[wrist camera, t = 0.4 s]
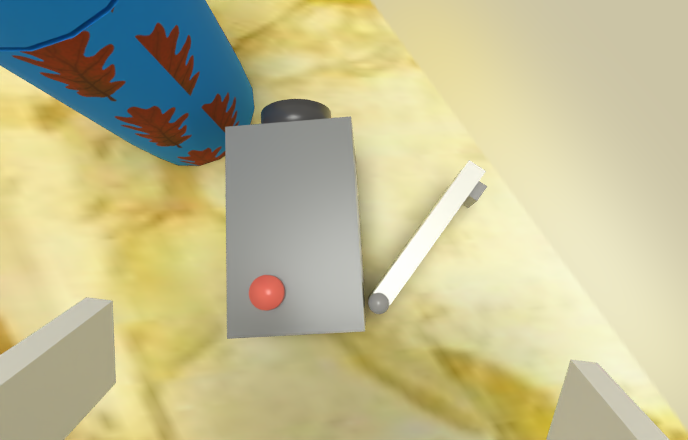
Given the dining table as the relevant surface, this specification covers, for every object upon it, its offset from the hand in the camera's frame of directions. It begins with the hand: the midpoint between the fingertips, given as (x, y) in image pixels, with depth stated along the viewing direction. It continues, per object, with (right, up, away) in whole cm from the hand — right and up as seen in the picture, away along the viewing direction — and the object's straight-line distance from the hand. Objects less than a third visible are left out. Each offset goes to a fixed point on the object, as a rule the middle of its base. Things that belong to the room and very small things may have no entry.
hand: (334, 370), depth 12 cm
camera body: (-2, +3, +21) cm, 21 cm away
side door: (+6, +2, +20) cm, 21 cm away
